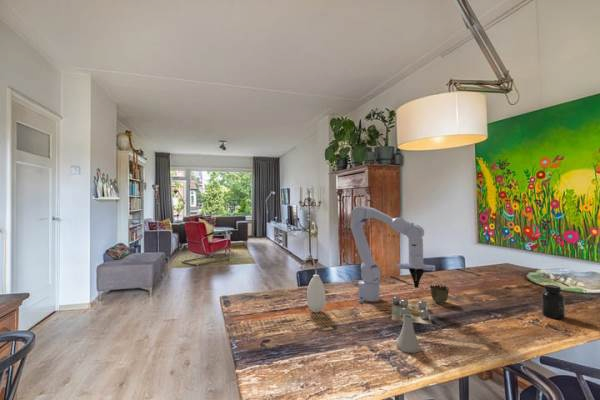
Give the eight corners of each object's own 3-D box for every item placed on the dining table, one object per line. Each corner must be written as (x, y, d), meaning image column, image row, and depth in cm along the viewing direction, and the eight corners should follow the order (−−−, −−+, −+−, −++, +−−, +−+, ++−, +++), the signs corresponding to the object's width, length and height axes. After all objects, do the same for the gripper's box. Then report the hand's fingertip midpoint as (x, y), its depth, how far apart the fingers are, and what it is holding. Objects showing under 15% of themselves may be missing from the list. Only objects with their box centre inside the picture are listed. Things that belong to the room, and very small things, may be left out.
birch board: (391, 322, 108) (391, 319, 108) (391, 305, 126) (391, 302, 126) (432, 327, 103) (432, 324, 103) (426, 308, 122) (426, 305, 122)
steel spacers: (392, 316, 111) (392, 308, 111) (392, 302, 126) (392, 295, 126) (429, 320, 106) (429, 312, 106) (425, 305, 122) (425, 298, 122)
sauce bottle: (327, 315, 115) (326, 270, 115) (307, 316, 114) (307, 271, 114) (324, 308, 123) (323, 266, 123) (306, 308, 122) (305, 266, 122)
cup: (451, 308, 121) (451, 290, 121) (432, 307, 123) (432, 289, 123) (445, 302, 129) (445, 284, 129) (428, 301, 130) (428, 284, 130)
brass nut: (407, 313, 113) (407, 308, 113) (407, 310, 117) (407, 305, 117) (418, 315, 112) (418, 309, 112) (417, 311, 116) (417, 306, 116)
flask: (392, 342, 93) (392, 312, 93) (413, 341, 94) (413, 311, 94) (402, 354, 86) (402, 321, 86) (425, 353, 86) (425, 320, 86)
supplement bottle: (559, 314, 115) (559, 284, 115) (568, 320, 109) (568, 289, 109) (538, 312, 117) (538, 283, 118) (546, 318, 111) (546, 287, 111)
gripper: (397, 255, 118) (398, 288, 118) (436, 257, 113) (436, 291, 113) (397, 252, 124) (397, 283, 124) (433, 253, 120) (434, 286, 120)
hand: (416, 286), depth 119 cm, fingers closed
